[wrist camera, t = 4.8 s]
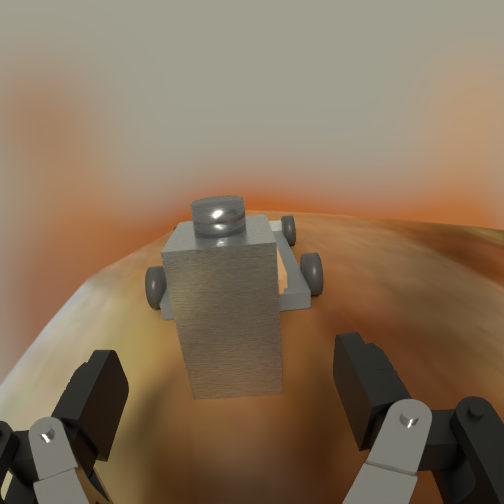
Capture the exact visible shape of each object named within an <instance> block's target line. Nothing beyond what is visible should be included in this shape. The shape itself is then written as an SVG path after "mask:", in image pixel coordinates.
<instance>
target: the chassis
mask: <svg viewBox="0 0 504 504" xmlns="http://www.w3.org/2000/svg"><path fill="white" fill-rule="evenodd" d="M269 224H270V226H271V229H272V232H273V234H274V237H275V240H276V244H277V263H278V284H279V307H280V311H287V310H296V309H305V308H311V295H320V294H321V293H322V290H323V270H322V264H321V260H320V257H319V255H318V253H307V254H302V255H301V269H300V267H299V265H298V263H297V261H296V259H295V257H294V254H293V252H292V250H291V248H290V246H289V245H295V241H296V233H295V223H294V219H293V216H282V219H281V220H279V221H269ZM176 227H177V226H175V227H174V231H175V229H176ZM145 288H146V295H147V300H148V303H149V305H150V306H151V308H161V312H162V316H163V320H172V319H174V316H173V311H172V307H171V302H170V297H169V292H168V288H167V283H166V278H165V273H164V267H163V266H158V267H149V268H148V269H147V272H146V278H145Z"/></svg>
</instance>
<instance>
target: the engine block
mask: <svg viewBox="0 0 504 504" xmlns="http://www.w3.org/2000/svg"><path fill="white" fill-rule="evenodd" d="M191 212H192V220H193V221H188V222H180V223H179V224H178V226H177V227H176V229H175V231H174V232H173V234H172V235H171V237H170V238H169V240H168V242H167V243H166V245H165V246H164V248H163V250H162V251H161V257H162V262H163V267H164V273H165V278H166V283H167V288H168V292H169V297H170V302H171V307H172V311H173V316H174V320H175V324H176V329H177V333H178V337H179V341H180V345H181V349H182V353H183V357H184V361H185V365H186V369H187V373H188V376H189V380H190V384H191V387H192V391H193V395H194V398H195V399H220V398H237V397H251V396H263V395H273V394H282V361H281V332H280V307H279V284H278V263H277V244H276V240H275V237H274V234H273V232H272V229H271V226H270V224H269V221H268V218H267V216H266V214H264V215H252V216H245V207H244V198H243V197H240V196H217V197H209V198H204V199H200V200H197V201H194V202H193V203H191Z"/></svg>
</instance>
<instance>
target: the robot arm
mask: <svg viewBox="0 0 504 504" xmlns="http://www.w3.org/2000/svg"><path fill="white" fill-rule="evenodd" d="M333 376H334V381H335V384H336V387H337V390H338V393H339V395H340V398H341V401H342V403H343V406H344V409H345V412H346V414H347V417H348V420H349V423H350V426H351V428H352V431H353V434H354V437H355V440H356V443H357V445H358V448H359V451H362V450H366V449H370V451H371V452H370V454H369V456H368V458H367V460H366V461H365V462H364V464H363V466H362V468H361V470H360V472H359V474H358V476H357V477H356V479H355V481H354V483H353V485H352V487H351V489H350V490H349V492H348V494H347V496H346V498H345V499H344V501H343V503H342V504H408V503H409V501H410V498H411V495H412V493H413V490H414V487H415V485H416V482H417V478H418V474H416V473H417V471H426V470H431V471H432V473H433V476H434V478H435V481H436V484H437V486H438V489H439V491H440V494H441V497H442V500H443V502H444V504H504V424H503V422H502V421H501V419H500V418H499V416H498V414H497V413H496V411H495V410H494V408H493V407H492V405H491V404H490V403H489V402H488V401H486V400H485V399H483V398H480V397H475V396H472V397H467V398H464V399H463V400H461V401H460V402H459V404H458V405H457V407H456V409H452V410H430V409H429V408H428V406H427V405H425V404H424V403H422V402H420V401H418V400H414V399H412V398H411V397H410V395H409V393H408V391H407V390H406V388H405V386H404V385H403V383H402V381H401V380H400V378H399V376H398V374H397V373H396V371H395V370H394V369H393V366H392V365H391V363H390V362H389V360H388V358H387V356H386V355H385V353H384V351H383V350H382V349H380V348H379V347H377V346H376V345H375V344H373V343H369V344H365V343H364V342H363V340H362V338H361V336H360V335H359V333H358V332H351V333H344V334H338V335H336V339H335V350H334V361H333ZM128 393H129V386H128V381H127V378H126V376H125V373H124V371H123V368H122V366H121V363H120V361H119V358H118V355H117V353H116V352H115V351H114V350H95V351H94V352H93V354H92V355H91V357H90V359H89V361H88V363H86V362H84V363H83V364H82V365H81V366H80V367H79V368H78V369H77V370H75V372H74V374H73V376H72V377H71V379H70V382H69V383H68V385H67V387H66V390H64V392H63V394H62V396H61V398H60V400H59V402H58V404H57V405H56V407H55V409H54V411H53V413H52V415H51V417H44V418H41V419H39V420H38V421H36V422H35V423H34V424H33V425H32V426H31V428H30V430H26V431H13V430H12V429H11V427H10V426H9V425H8V424H7V423H6V422H4V421H0V504H114V503H113V501H112V499H111V497H110V496H109V494H108V492H107V490H106V488H105V486H104V484H103V482H102V480H101V478H100V476H99V474H98V472H97V470H96V469H95V467H94V464H95V460H99V461H106V462H107V460H108V457H109V454H110V450H111V447H112V444H113V440H114V437H115V434H116V431H117V428H118V425H119V421H120V418H121V415H122V412H123V409H124V406H125V403H126V400H127V397H128ZM7 471H9V472H10V473H11V474H12V475H13V477H12V480H11V483H10V485H9V488H8V491H7V494H6V497H5V500H3V499H2V497H1V487H2V484H3V481H4V479H5V476H6V474H7Z"/></svg>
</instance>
